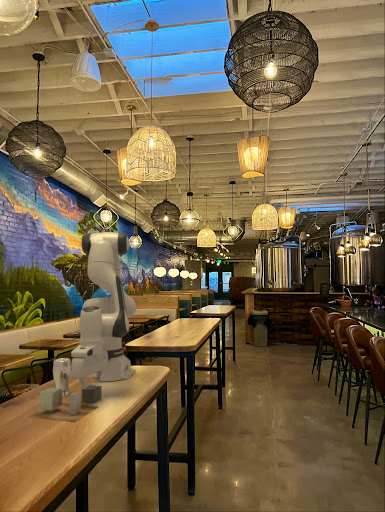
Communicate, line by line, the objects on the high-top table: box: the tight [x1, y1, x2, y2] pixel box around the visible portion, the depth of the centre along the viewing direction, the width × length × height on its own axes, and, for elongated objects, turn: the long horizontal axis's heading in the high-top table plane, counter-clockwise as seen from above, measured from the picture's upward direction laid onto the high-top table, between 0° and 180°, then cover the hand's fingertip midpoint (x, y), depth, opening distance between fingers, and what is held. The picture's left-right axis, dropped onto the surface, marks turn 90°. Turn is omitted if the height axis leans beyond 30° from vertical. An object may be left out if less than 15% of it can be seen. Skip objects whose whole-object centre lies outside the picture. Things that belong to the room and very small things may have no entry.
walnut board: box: [28, 402, 99, 423], centre depth 131 cm, size 15×19×1 cm
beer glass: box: [52, 357, 72, 397], centre depth 152 cm, size 7×7×15 cm
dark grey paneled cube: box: [81, 385, 102, 405], centre depth 142 cm, size 5×5×6 cm
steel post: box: [68, 391, 81, 416], centre depth 129 cm, size 3×3×7 cm
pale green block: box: [39, 387, 63, 413], centre depth 132 cm, size 5×5×8 cm
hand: (91, 385), depth 142 cm, fingers open, 8 cm apart
